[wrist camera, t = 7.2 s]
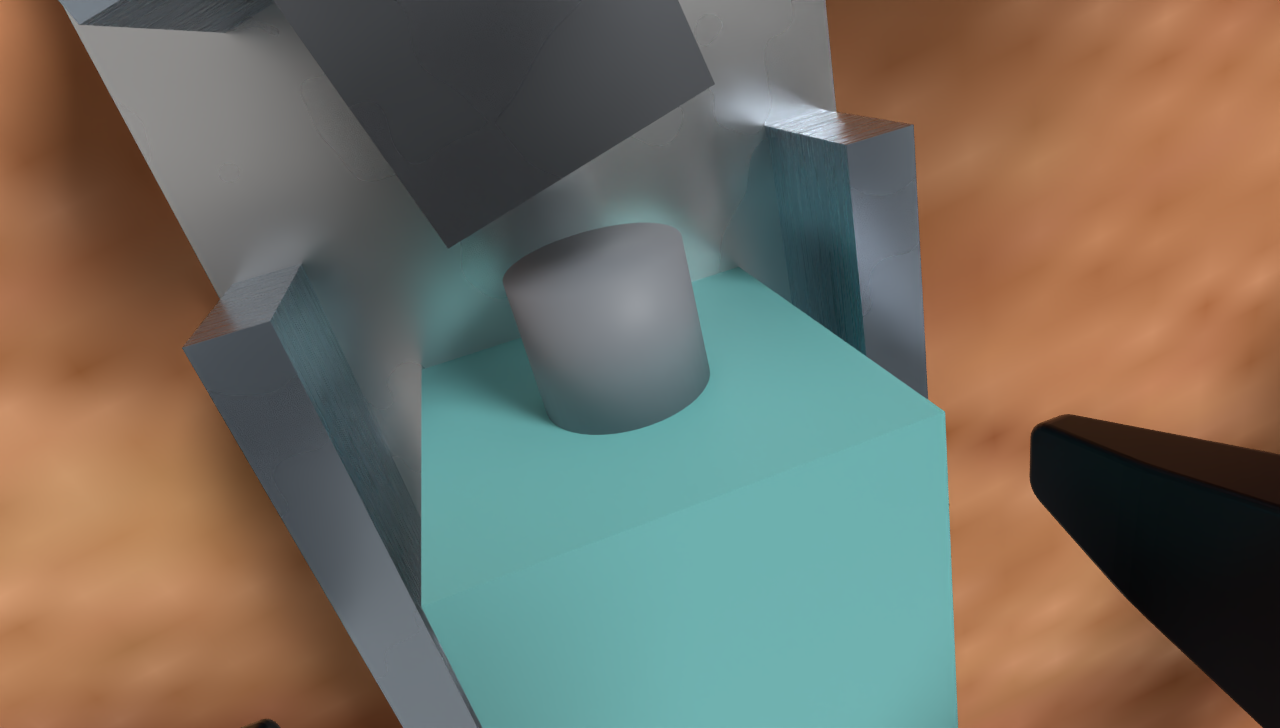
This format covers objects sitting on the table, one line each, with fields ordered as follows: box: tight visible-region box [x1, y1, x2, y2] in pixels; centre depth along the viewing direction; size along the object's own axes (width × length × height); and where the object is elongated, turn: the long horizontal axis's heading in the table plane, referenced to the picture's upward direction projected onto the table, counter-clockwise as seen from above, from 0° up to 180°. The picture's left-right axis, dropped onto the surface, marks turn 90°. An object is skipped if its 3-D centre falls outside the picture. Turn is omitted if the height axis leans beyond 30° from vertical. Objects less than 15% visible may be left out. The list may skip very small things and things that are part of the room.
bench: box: [58, 0, 928, 728], centre depth 10 cm, size 8×21×5 cm, turn 14°
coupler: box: [421, 223, 958, 728], centre depth 9 cm, size 4×8×4 cm, turn 14°
